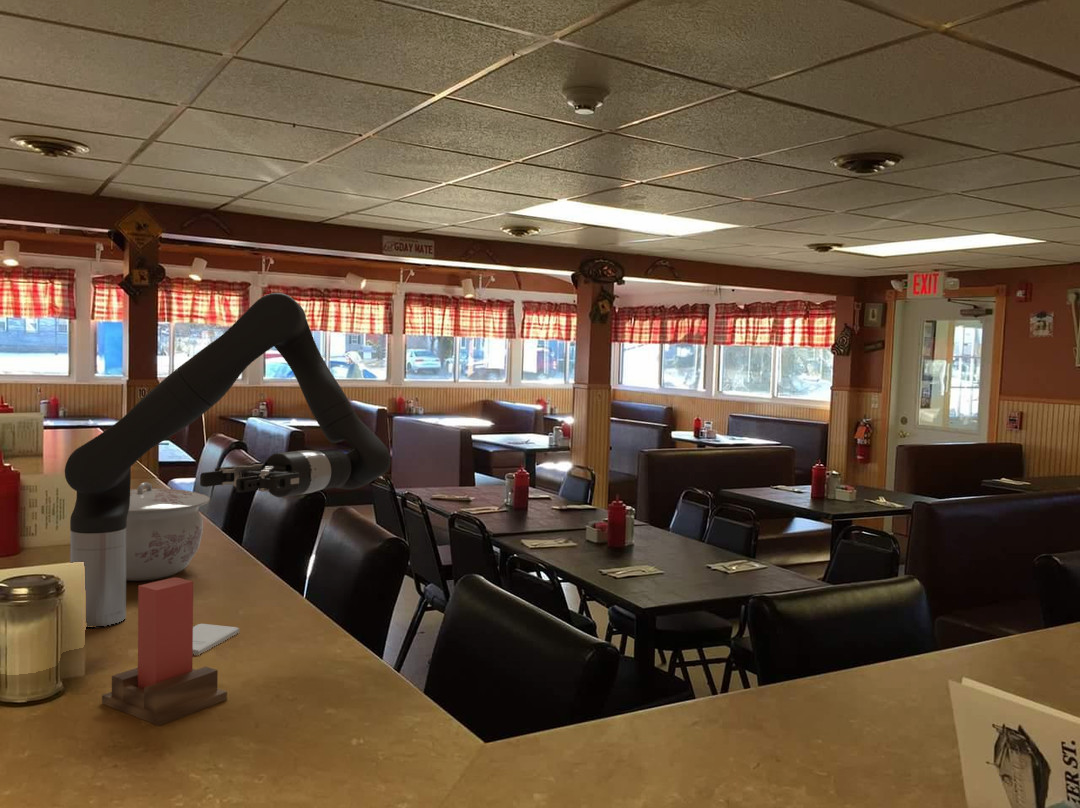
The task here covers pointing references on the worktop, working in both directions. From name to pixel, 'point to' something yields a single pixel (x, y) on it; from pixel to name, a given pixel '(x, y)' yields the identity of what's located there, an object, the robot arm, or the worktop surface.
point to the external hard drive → (210, 636)
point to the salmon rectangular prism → (164, 630)
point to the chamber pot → (161, 531)
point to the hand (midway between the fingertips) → (219, 482)
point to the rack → (165, 695)
